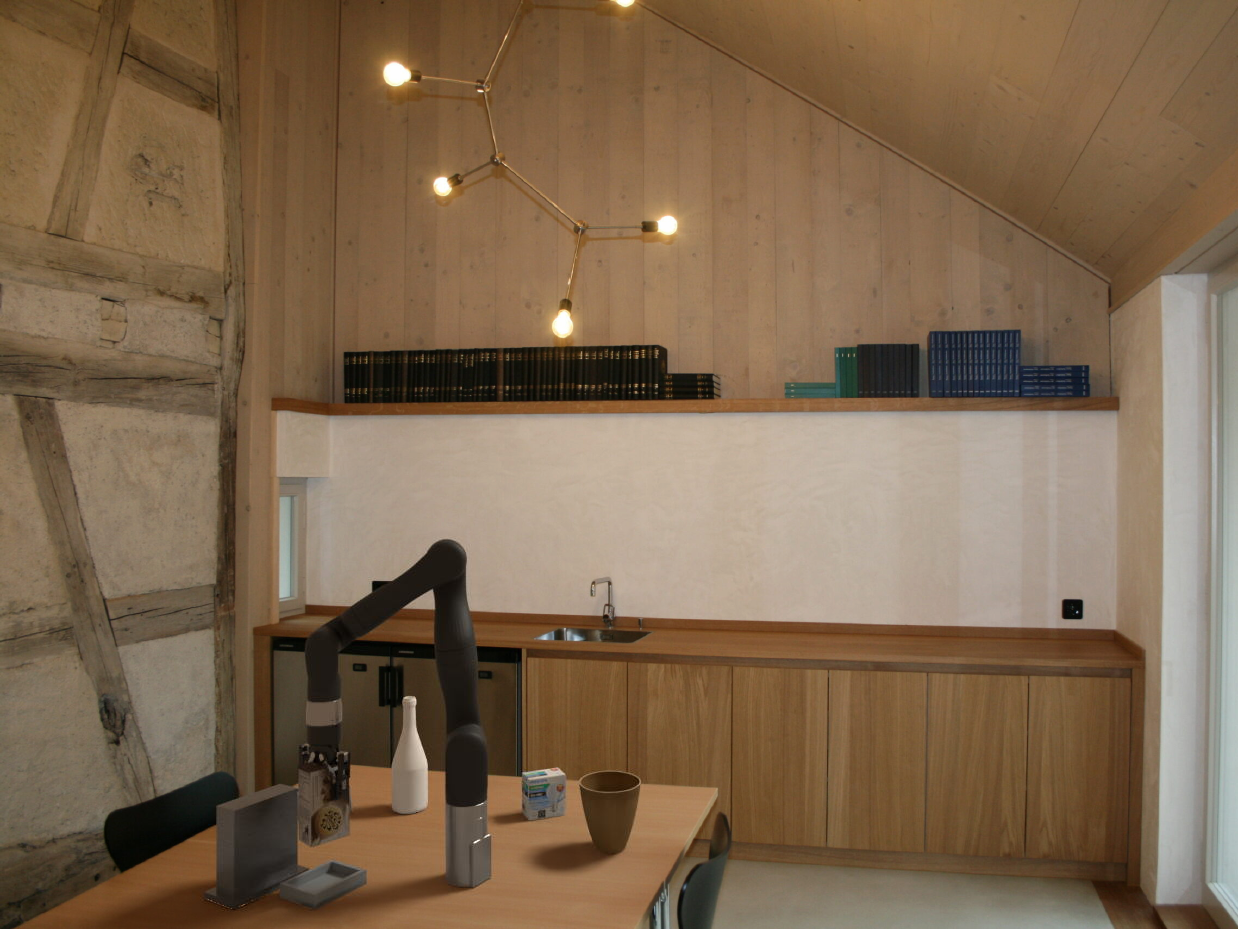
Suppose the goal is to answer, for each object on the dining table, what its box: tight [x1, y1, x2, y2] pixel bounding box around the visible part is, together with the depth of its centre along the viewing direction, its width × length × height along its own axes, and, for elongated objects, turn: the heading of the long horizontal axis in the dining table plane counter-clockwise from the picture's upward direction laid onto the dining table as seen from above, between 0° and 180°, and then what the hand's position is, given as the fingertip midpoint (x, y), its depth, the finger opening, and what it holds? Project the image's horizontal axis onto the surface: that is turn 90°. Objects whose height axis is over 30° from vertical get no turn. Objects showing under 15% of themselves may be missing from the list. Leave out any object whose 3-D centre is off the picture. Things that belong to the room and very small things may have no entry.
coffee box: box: [297, 762, 351, 848], centre depth 190 cm, size 9×6×16 cm
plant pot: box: [578, 770, 642, 854], centre depth 211 cm, size 15×15×16 cm
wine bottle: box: [391, 695, 429, 815], centre depth 238 cm, size 10×10×30 cm
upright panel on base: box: [203, 783, 310, 910], centre depth 192 cm, size 10×19×20 cm, turn 149°
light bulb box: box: [521, 767, 567, 821], centre depth 233 cm, size 11×7×11 cm, turn 114°
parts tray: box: [279, 859, 368, 911], centre depth 189 cm, size 11×14×3 cm
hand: (324, 796), depth 190 cm, fingers closed on coffee box, 7 cm apart
